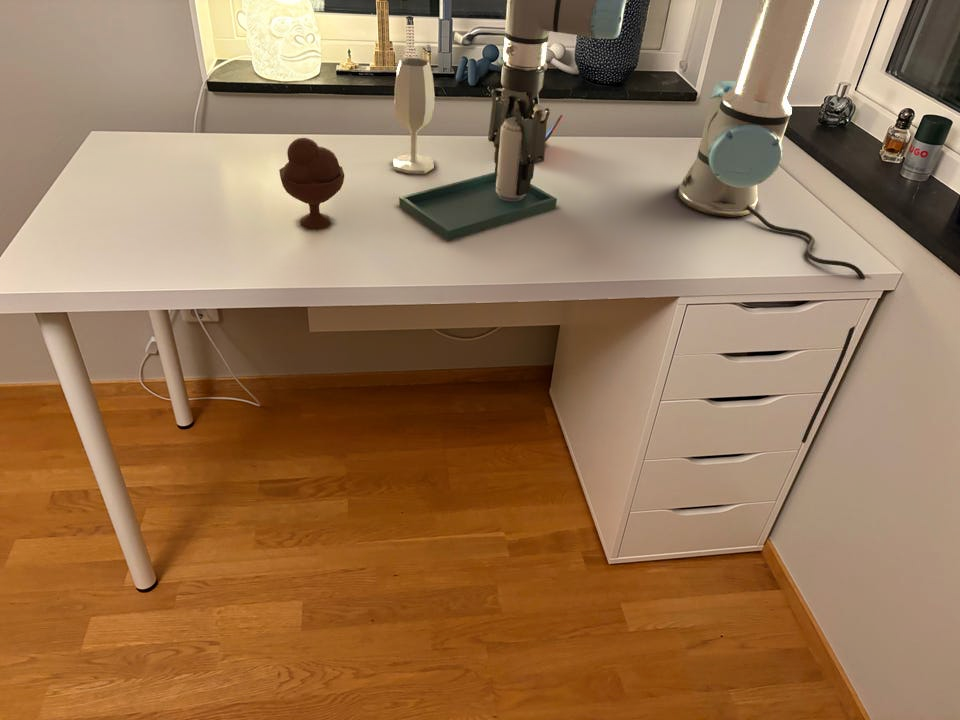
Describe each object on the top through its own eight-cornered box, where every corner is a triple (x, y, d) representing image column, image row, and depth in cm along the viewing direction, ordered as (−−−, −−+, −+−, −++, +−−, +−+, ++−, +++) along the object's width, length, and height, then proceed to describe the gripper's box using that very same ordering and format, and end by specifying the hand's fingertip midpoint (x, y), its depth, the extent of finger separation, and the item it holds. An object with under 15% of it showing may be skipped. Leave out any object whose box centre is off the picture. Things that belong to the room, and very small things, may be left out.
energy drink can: (506, 186, 151) (512, 111, 142) (531, 195, 148) (540, 119, 139) (489, 196, 147) (495, 120, 138) (515, 205, 144) (523, 128, 135)
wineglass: (428, 177, 153) (431, 71, 140) (387, 171, 154) (386, 65, 141) (439, 161, 160) (442, 58, 147) (399, 155, 161) (399, 53, 148)
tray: (555, 208, 146) (557, 198, 145) (448, 241, 132) (448, 231, 131) (504, 178, 155) (505, 169, 154) (399, 206, 142) (399, 196, 141)
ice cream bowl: (287, 239, 129) (278, 155, 120) (282, 210, 138) (274, 129, 129) (349, 235, 132) (346, 152, 123) (341, 206, 140) (337, 127, 131)
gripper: (473, 52, 136) (466, 173, 150) (543, 82, 125) (528, 210, 139) (505, 47, 140) (495, 165, 154) (576, 76, 129) (558, 201, 143)
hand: (511, 187), depth 147 cm, fingers closed on energy drink can, 6 cm apart
